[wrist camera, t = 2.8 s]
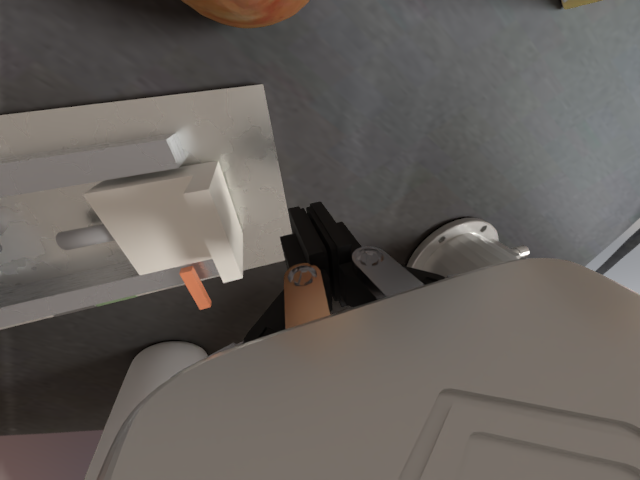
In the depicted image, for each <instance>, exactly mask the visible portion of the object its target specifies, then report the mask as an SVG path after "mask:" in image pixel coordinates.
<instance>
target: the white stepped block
mask: <svg viewBox="0 0 640 480" xmlns="http://www.w3.org/2000/svg"><path fill="white" fill-rule="evenodd" d="M83 196H84V197H85V199H86V200H87V201H88V203H89V204H90V206H91V207H92V208H93V210H94V211H95V213H96V214H97V216H98V217H99V218H100V220H101V221H102V223H103V224H99V225H94V226H89V227H84V228H78V229H73V230H68V231H63V232H59V233H58V234H57V235H56V242H57V244H58V246H59V247H60V248H62V249H64V250H71V249H76V248H80V247H85V246H90V245H95V244H100V243H105V242H110V241H116V242H117V244H118V245H119V247H120V248H121V250H122V251H123V252H124V254H125V255H126V257H127V258H128V259H129V261H130V262H131V264H132V265H133V267H134V268H135V269H136V271H137V272H138V274H139V275H144V274H148V273H153V272H157V271H161V270H166V269H170V268H174V267H179V266H183V265H187V264H192V263H196V262H200V261H205V260H209V259H213V261H214V263H215V266H216V268H217V270H218V272H219V274H220V277H221V279H222V281H223V283H226V282H230V281H234V280H238V279H242V278H243V233H242V230H241V227H240V224H239V221H238V218H237V215H236V212H235V209H234V206H233V203H232V200H231V197H230V194H229V191H228V188H227V185H226V182H225V179H224V176H223V173H222V170H221V167H220V164H219V161H213V162H207V163H201V164H195V165H189V166H183V167H179V168H176V169H170V170H164V171H158V172H152V173H146V174H140V175H134V176H128V177H122V178H116V179H110V180H104V181H102V182H100V183H99V184H97V185H96V186H94V187H93V188H91V189H90V190H88V191H87V192H85V193H84V194H83ZM179 274H180V276H181V278H182V280H183V281H184V283H185V285H186V287H187V288H188V290H189V292H190V293H191V295H192V297H193V299H194V300H195V302H196V304H197V306H198V307H199V309H200V310H202V309H206V308H209V307H211V300H210V298H209V296H208V294H207V292H206V290H205V288H204V286H203V284H202V282H201V281H200V279H199V277H198V275H197V273H196V271H195V269H194V267H193V266H189V267H185V268H181V270H180V273H179Z"/></svg>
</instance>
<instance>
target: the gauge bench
mask: <svg viewBox="0 0 640 480" xmlns="http://www.w3.org/2000/svg"><path fill="white" fill-rule="evenodd" d="M213 161H219V164H220V167H221V170H222V173H223V176H224V179H225V182H226V185H227V188H228V191H229V194H230V197H231V200H232V203H233V206H234V209H235V212H236V215H237V218H238V221H239V224H240V227H241V230H242V233H243V270H247V269H252V268H256V267H260V266H264V265H268V264H272V263H276V262H280V261H284V260H285V257H284V253H283V249H282V245H281V241H280V237H281V236H285V235H289V234H292V230H291V225H290V220H289V215H288V210H287V205H286V200H285V195H284V189H283V184H282V179H281V174H280V169H279V164H278V159H277V153H276V148H275V143H274V138H273V133H272V128H271V123H270V118H269V112H268V107H267V102H266V97H265V92H264V87H263V84H260V85H252V86H243V87H235V88H226V89H218V90H209V91H201V92H193V93H184V94H176V95H167V96H159V97H150V98H142V99H133V100H125V101H116V102H108V103H100V104H91V105H83V106H74V107H66V108H57V109H49V110H40V111H32V112H23V113H15V114H7V115H0V330H1V329H5V328H9V327H14V326H18V325H22V324H26V323H30V322H34V321H38V320H42V319H46V318H50V317H57V316H61V315H65V314H69V313H73V312H77V311H81V310H85V309H89V308H94V307H96V306H97V307H98V306H102V305H106V304H110V303H114V302H118V301H122V300H126V299H130V298H135V297H137V296H141V295H145V294H149V293H153V292H157V291H161V290H165V289H170V288H174V287H178V286H182V285H185V283H184V281H183V280H182V278H181V276H180V274H179V273H180V270H181V268H185V267H189V266H193V267H194V269H195V271H196V273H197V275H198V277H199V279H200V281H202V280H206V279H211V278H215V277H219V276H220V274H219V272H218V270H217V268H216V266H215V263H214V261H213V259H209V260H205V261H200V262H196V263H192V264H187V265H183V266H179V267H174V268H170V269H166V270H161V271H157V272H153V273H148V274H144V275H139V274H138V272H137V271H136V269H135V268H134V267H133V265H132V264H131V262H130V261H129V259H128V258H127V257H126V255H125V254H124V252H123V251H122V250H121V248H120V247H119V245H118V244H117V242H116V241H110V242H105V243H100V244H95V245H90V246H85V247H80V248H76V249H71V250H64V249H62V248H60V247H59V246H58V244H57V242H56V235H57V234H58V233H59V232H63V231H68V230H73V229H78V228H84V227H89V226H94V225H99V224H103V223H102V221H101V220H100V218H99V217H98V216H97V214H96V213H95V211H94V210H93V208H92V207H91V206H90V204H89V203H88V201H87V200H86V199H85V197H84V196H83V194H84V193H85V192H87V191H88V190H90V189H91V188H93V187H94V186H96V185H97V184H99V183H100V182H102V181H104V180H110V179H116V178H122V177H128V176H134V175H140V174H146V173H152V172H158V171H164V170H170V169H176V168H179V167H183V166H189V165H195V164H201V163H207V162H213Z"/></svg>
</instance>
